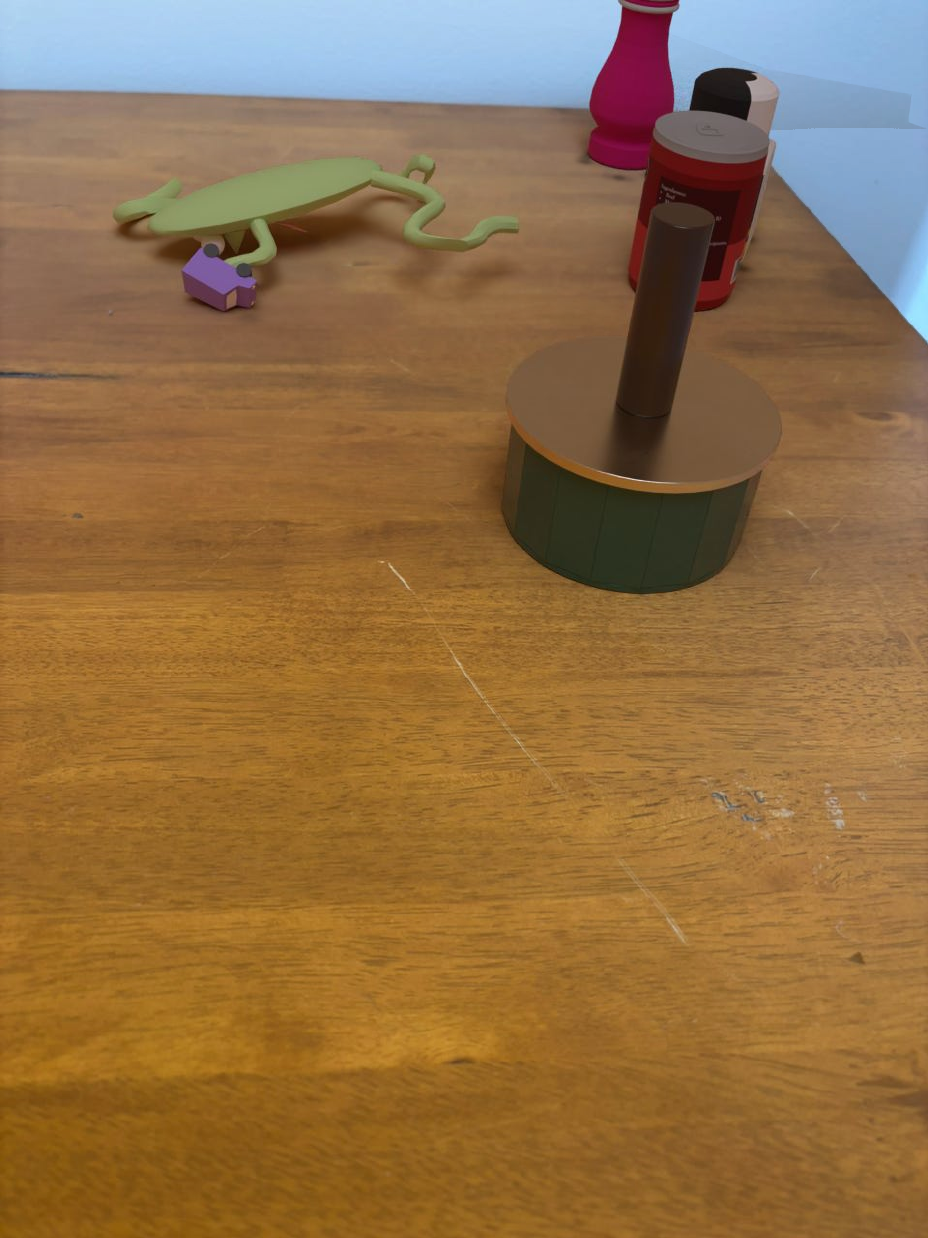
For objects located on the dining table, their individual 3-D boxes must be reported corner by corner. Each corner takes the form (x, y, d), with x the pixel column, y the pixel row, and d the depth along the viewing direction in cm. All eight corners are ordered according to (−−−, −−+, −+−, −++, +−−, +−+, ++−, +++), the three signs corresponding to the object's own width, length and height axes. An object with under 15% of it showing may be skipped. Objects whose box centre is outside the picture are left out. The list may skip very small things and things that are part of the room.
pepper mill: (622, 136, 105) (664, -120, 92) (680, 162, 101) (733, -100, 88) (565, 149, 101) (600, -115, 88) (623, 178, 97) (669, -95, 84)
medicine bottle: (649, 246, 87) (681, 80, 79) (667, 212, 92) (698, 53, 84) (741, 265, 86) (783, 98, 78) (754, 230, 91) (795, 70, 83)
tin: (627, 428, 68) (647, 329, 63) (787, 542, 60) (822, 439, 56) (455, 491, 62) (464, 387, 57) (611, 626, 54) (634, 518, 50)
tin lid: (645, 333, 64) (684, 139, 57) (833, 451, 57) (904, 244, 49) (450, 395, 58) (466, 184, 51) (631, 538, 50) (681, 314, 43)
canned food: (697, 258, 86) (731, 106, 79) (753, 307, 81) (795, 149, 74) (606, 267, 84) (633, 111, 76) (658, 318, 78) (692, 156, 71)
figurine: (529, 303, 79) (539, 224, 75) (127, 327, 72) (116, 242, 68) (457, 196, 92) (462, 124, 88) (111, 207, 85) (101, 130, 81)
